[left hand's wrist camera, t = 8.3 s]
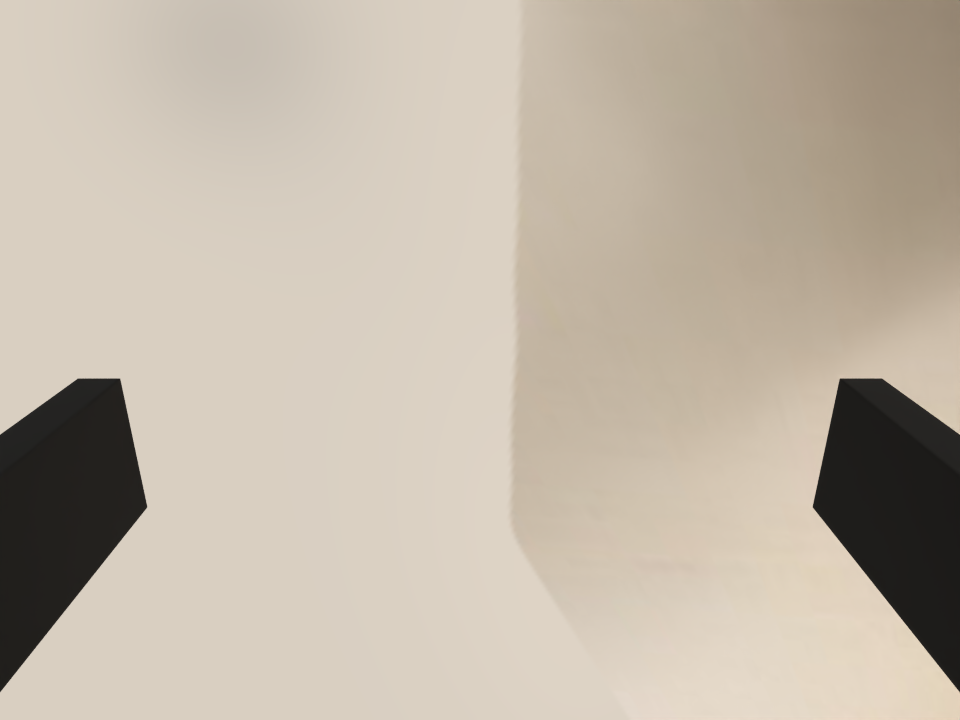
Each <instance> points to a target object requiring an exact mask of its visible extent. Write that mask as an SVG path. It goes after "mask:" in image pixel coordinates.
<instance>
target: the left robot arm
mask: <svg viewBox="0 0 960 720" xmlns="http://www.w3.org/2000/svg"><path fill="white" fill-rule="evenodd" d="M146 508H147V504H146V499H145V494H144V490H143V485H142V480H141V475H140V471H139V466H138V461H137V457H136V452H135V447H134V442H133V437H132V433H131V428H130V423H129V418H128V414H127V409H126V404H125V400H124V395H123V390H122V385H121V381H120V379H77V380H76V381H74V382H73V383H71V384H70V385H69V386H67V387H66V388H64V389H63V390H62V391H60V392H59V393H57V394H56V395H55V396H53V397H52V398H51V399H49V400H48V401H46V402H45V403H44V404H42V405H41V406H39V407H38V408H37V409H35V410H34V411H33V412H31V413H30V414H28V415H27V416H26V417H24V418H23V419H21V420H20V421H19V422H17V423H16V424H15V425H13V426H12V427H10V428H9V429H8V430H6V431H5V432H3V433H2V434H1V435H0V692H1V690H2V689H3V688H4V687H5V685H6V684H7V683H8V682H9V680H10V679H11V678H12V677H13V675H14V674H15V673H16V672H17V670H18V669H19V668H20V667H21V665H22V664H23V663H24V661H25V660H26V659H27V658H28V656H29V655H30V654H31V653H32V651H33V650H34V649H35V648H36V646H37V645H38V644H39V643H40V641H41V640H42V639H43V638H44V636H45V635H46V634H47V633H48V631H49V630H50V629H51V628H52V626H53V625H54V624H55V622H56V621H57V620H58V619H59V617H60V616H61V615H62V614H63V612H64V611H65V610H66V609H67V607H68V606H69V605H70V604H71V602H72V601H73V600H74V599H75V597H76V596H77V595H78V594H79V592H80V591H81V590H82V589H83V587H84V586H85V585H86V584H87V582H88V581H89V580H90V579H91V577H92V576H93V575H94V573H95V572H96V571H97V570H98V568H99V567H100V566H101V565H102V563H103V562H104V561H105V560H106V558H107V557H108V556H109V555H110V553H111V552H112V551H113V550H114V548H115V547H116V546H117V545H118V543H119V542H120V541H121V540H122V538H123V537H124V536H125V534H126V533H127V532H128V531H129V529H130V528H131V527H132V526H133V524H134V523H135V522H136V521H137V519H138V518H139V517H140V516H141V514H142V513H143V512H144V511H145V509H146ZM813 508H814V509H815V511H816V512H817V513H818V514H819V516H820V517H821V518H822V519H823V521H824V522H825V523H826V524H827V526H828V527H829V528H830V529H831V531H832V532H833V533H834V535H835V536H836V537H837V538H838V540H839V541H840V542H841V543H842V545H843V546H844V547H845V548H846V550H847V551H848V552H849V553H850V555H851V556H852V557H853V558H854V560H855V561H856V562H857V563H858V565H859V566H860V567H861V568H862V570H863V571H864V572H865V573H866V575H867V576H868V577H869V579H870V580H871V581H872V582H873V584H874V585H875V586H876V587H877V589H878V590H879V591H880V592H881V594H882V595H883V596H884V597H885V599H886V600H887V601H888V602H889V604H890V605H891V606H892V607H893V609H894V610H895V611H896V612H897V614H898V615H899V616H900V617H901V619H902V620H903V621H904V623H905V624H906V625H907V626H908V628H909V629H910V630H911V631H912V633H913V634H914V635H915V636H916V638H917V639H918V640H919V641H920V643H921V644H922V645H923V646H924V648H925V649H926V650H927V651H928V653H929V654H930V655H931V656H932V658H933V659H934V660H935V661H936V663H937V664H938V665H939V667H940V668H941V669H942V670H943V672H944V673H945V674H946V675H947V677H948V678H949V679H950V680H951V682H952V683H953V684H954V685H955V687H956V688H957V689H958V690H959V692H960V435H959V434H958V433H957V432H955V431H954V430H952V429H951V428H950V427H948V426H947V425H946V424H944V423H943V422H941V421H940V420H939V419H937V418H936V417H934V416H933V415H932V414H930V413H929V412H927V411H926V410H925V409H923V408H922V407H921V406H919V405H918V404H916V403H915V402H914V401H912V400H911V399H909V398H908V397H907V396H905V395H904V394H903V393H901V392H900V391H898V390H897V389H896V388H894V387H893V386H891V385H890V384H889V383H887V382H886V381H884V380H883V379H840V381H839V385H838V390H837V395H836V400H835V404H834V409H833V414H832V418H831V423H830V428H829V433H828V437H827V442H826V447H825V452H824V456H823V461H822V466H821V471H820V475H819V480H818V485H817V489H816V494H815V499H814V504H813Z"/></svg>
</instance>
